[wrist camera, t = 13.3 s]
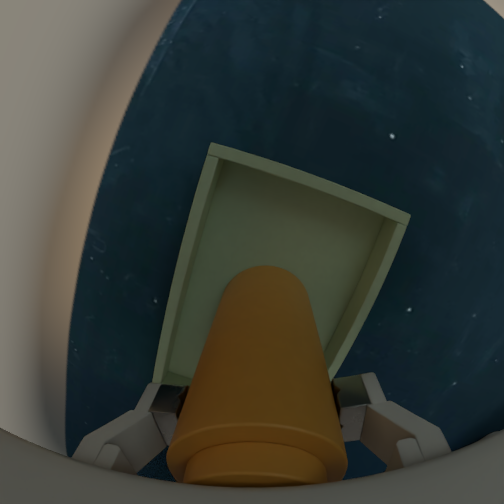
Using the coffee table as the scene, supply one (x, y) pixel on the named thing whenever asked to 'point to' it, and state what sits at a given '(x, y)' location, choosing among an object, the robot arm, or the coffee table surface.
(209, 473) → the bottle
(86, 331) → the coffee table surface
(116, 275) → the coffee table surface
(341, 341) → the tray
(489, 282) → the coffee table surface
